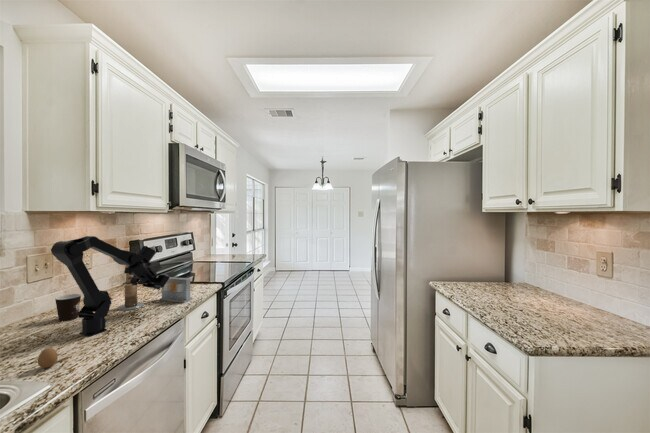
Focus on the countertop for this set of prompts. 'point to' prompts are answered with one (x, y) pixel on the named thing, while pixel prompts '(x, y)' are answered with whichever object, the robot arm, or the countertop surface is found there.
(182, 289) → the switch panel
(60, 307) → the coffee mug
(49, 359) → the egg
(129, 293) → the pepper mill
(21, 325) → the countertop surface
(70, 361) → the countertop surface
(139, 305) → the coaster
